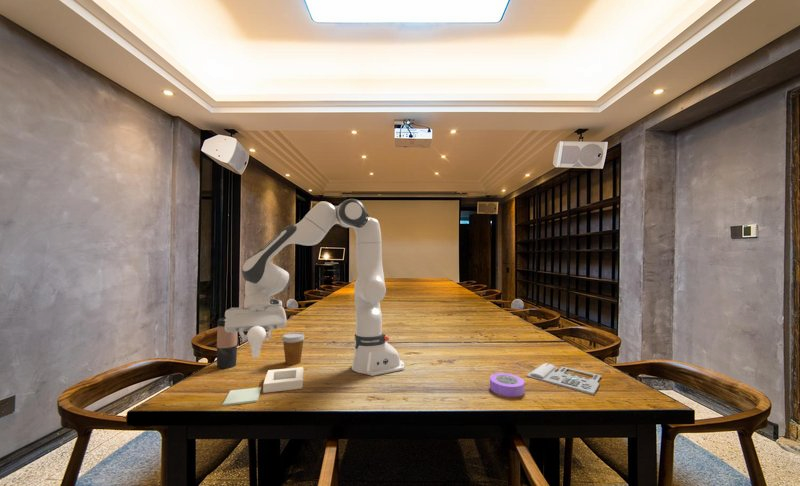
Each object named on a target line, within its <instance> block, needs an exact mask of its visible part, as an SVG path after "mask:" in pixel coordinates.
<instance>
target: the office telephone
mask: <svg viewBox="0 0 800 486" xmlns="http://www.w3.org/2000/svg"><path fill="white" fill-rule="evenodd" d="M557 369H558V367H557V366H555V365H554V364H551V363H549V362H548V363H547V362H546V363H542V364H540V365H539V366H538V367H536V368H534V369H533V370H532V371H531V370H530V372H529V373H527V374H526V377H527V378H530V377H531V379H534V380H537V381H541V382H545V383H547V384H548V383H549V384H553V385H557V386H559V387H563V388H567V389H571V390H574V391H578V392H581V393H584V394H588V395H592V396H594V395H595V394H596V392H597V390H598V389H599V386H600V383H599V382H600V380H601V379H602V378H603V376H602V375H600V374H597V373H593V372H588V371H584V370H579V369H576V368H570V367H566V366H561V368H559V370H557ZM556 370H557V371H556ZM567 370H569V371H567ZM555 371H556V372H555ZM572 371H574V372H573V373H576V372H578V373H577V374H580V373H583V374H582V375H584V374H586V375H585V376H589V375H590V377H591V378H589V377H585V376H584V377H583V376H581V375H576V374H572V373H568V372H572ZM592 376H593V377H592ZM600 378H601V379H600Z"/></svg>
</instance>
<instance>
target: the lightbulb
mask: <svg viewBox="0 0 800 486" xmlns="http://www.w3.org/2000/svg"><path fill="white" fill-rule="evenodd" d="M266 333H267V332H266V330H265V329H264V328H263V327H261V326H254V327H252V328H251V329H250V330H249V331H247V333H246V335H247V342H248V343H249V345H250V351H251V357H252V358H253V359H257V358H258V357H260V355H261V349H262V344H263V342H264V341H265V340H266Z"/></svg>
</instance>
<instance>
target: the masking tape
mask: <svg viewBox="0 0 800 486" xmlns="http://www.w3.org/2000/svg"><path fill="white" fill-rule="evenodd" d="M489 389H490V390H491V392H493V393H494V394H496V395H499V396H502V397H503V396H504V397H507V398H516V397H517V398H518V397H521V396H524V394H525V380H524V379H523V378H521V377H520V376H518V375H515V374H512V373H508V372H507V373H506V372H498V373H497V372H496V373H494V374H491V375H490V377H489Z"/></svg>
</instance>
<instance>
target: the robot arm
mask: <svg viewBox="0 0 800 486" xmlns="http://www.w3.org/2000/svg"><path fill="white" fill-rule="evenodd" d="M334 225H335V226H337V227H341V228H345V229H350V228H352V229H353V231H354V232H355V264H356V268H357V269H356V270H357V278H356V280H355V282H354V284H353V285H354V287H353V288H354V289H353V290H354V308H355V334H354V342H353V344H354V356H353V359H352V360H353V361H352V365H351V367H350V368H351V370H352V371H354V372H356V373H358V374H365V375H368V376H370V377H372V376H373V377H374V376H378V375H383V374H390V373H395V372H398V371H403V370H405V368H406V367H405V366H406V365H405V363H404V361H403V360H402V359H400V355H399V352H398V351H397V349H396V348H395V347H393V346H392V345H391V344H390V343H388V342H389V340H390V337H389V336H388V335H387V334H385V333H383V332H382V331H383V329H382V328H383V314H382V311H381V310H382V309H381V308H382V307H381V303H380V302H381V301H383V300H384V299H385V296H386V293H387V289H386V283H385V274H384V267H383V251H382V250H383V248H382V247H383V246H382V245H383V244H382V243H383V241H382V230H381V225H380V222H379V220H378V219H376V218H374V217H370V216H369V213H368V212H367V210H366V208H365V206H364V204H363V203H362V202H361V201H360V200H358V199H355V198H349V199H346V200H343V201H342V202H341V203H340V204H338V205H333V204H332V203H330V202H328V201H319V202H318V203H316V204H315V205H314V206H313V207H312V208H311V209H310V210H309V211H308V212H307V213H306V214H305V215H304V216H303V218H302V219H301V220H300V221H299V222H298V223H295V224H289V225H287V226H285V227H284V228H283V229H281V230H280V231H279V232H278V233H277V234H276V235H275V236H273V238H271V239H270V240H269V241H268V242H267V243H266V244H265V245H264V246H263V247H262V248H260V249H259V250H258V251H257V252H255V253H254V254H252V255H251V256H250V257H249V258H247V259H246V260H245V261H244V262H243V264H242V266H241V274H242V278H243V279H244V280H245V286H244V295H245V297H244V303H243V306H240V307H230V308H228V309H226V310H225V312H224V318H226V321H225V331H226V332H237V333H238V334H239V336H240V337H241V339H242V342H243V343H245V342H248V339H247V334H245V332H248V331H249V330H250V329H251V328H252V327H254V326H261V327H263V328H264V329H265V331H266V330H268V332H266V337H265V341H267V340H271V335H272V334H273V332H274V330H277V329H278V330H279V329H284V328H285V327H286V326H287V322H288V321H287V314H286V311H285V308H284V307H283V301H282V300H280V299H275V298H272V297H273V296H276V295H278V294H280V293H282V292H284V291H285V290H287V288H288V287H289V284H290V281H291V280H290V279H291V278H290V277H291V276H290V273H289V272H288V271H287V270H285V269H284V268H282V267H280V266H278V265H276V264H275V263H274V262H271V261H272V259H274V257H275V256H276V255H278V254H279V252H281V250H283V249H284V248H285V247H286V246H288V245H290V244H291V245H293V244H296V245H301V246H307V247H308V246H311V247H312V246H315V245H318V244H319V243H321V241H323V239H324V238H325V237H326V235H327V234H328V232H329V231H330V230H331V229H332V227H333V226H334Z"/></svg>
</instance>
